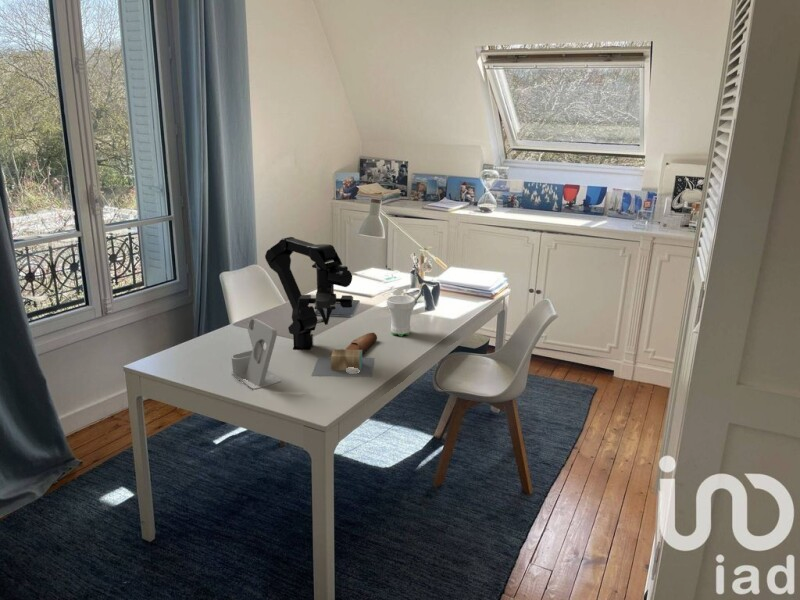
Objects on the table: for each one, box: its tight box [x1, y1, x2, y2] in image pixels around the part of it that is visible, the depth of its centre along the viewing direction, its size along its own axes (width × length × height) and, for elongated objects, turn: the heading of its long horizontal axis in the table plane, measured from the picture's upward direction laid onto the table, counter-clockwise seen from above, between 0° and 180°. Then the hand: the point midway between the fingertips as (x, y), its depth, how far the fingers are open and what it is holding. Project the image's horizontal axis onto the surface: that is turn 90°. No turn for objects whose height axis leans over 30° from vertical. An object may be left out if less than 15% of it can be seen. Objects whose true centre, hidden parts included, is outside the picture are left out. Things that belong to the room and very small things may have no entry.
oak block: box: [330, 349, 363, 370], centre depth 206 cm, size 5×6×10 cm
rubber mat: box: [311, 356, 375, 378], centre depth 206 cm, size 20×16×1 cm
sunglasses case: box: [344, 332, 378, 357], centre depth 223 cm, size 18×7×7 cm
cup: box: [385, 294, 416, 337], centre depth 237 cm, size 11×11×14 cm
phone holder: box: [231, 318, 281, 391], centre depth 195 cm, size 17×10×18 cm, turn 39°
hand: (326, 324), depth 212 cm, fingers closed
